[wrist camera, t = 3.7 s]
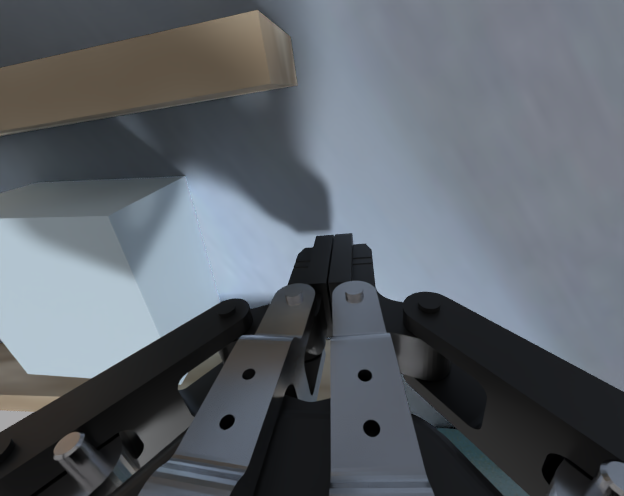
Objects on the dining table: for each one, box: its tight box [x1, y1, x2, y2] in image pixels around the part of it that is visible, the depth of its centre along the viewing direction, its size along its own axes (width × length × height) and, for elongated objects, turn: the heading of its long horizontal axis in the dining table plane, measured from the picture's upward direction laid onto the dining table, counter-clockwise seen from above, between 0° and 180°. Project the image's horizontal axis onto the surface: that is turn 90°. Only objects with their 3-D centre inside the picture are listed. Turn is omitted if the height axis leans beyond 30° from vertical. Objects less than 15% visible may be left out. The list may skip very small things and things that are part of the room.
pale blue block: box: [0, 176, 221, 385], centre depth 14 cm, size 8×8×5 cm
